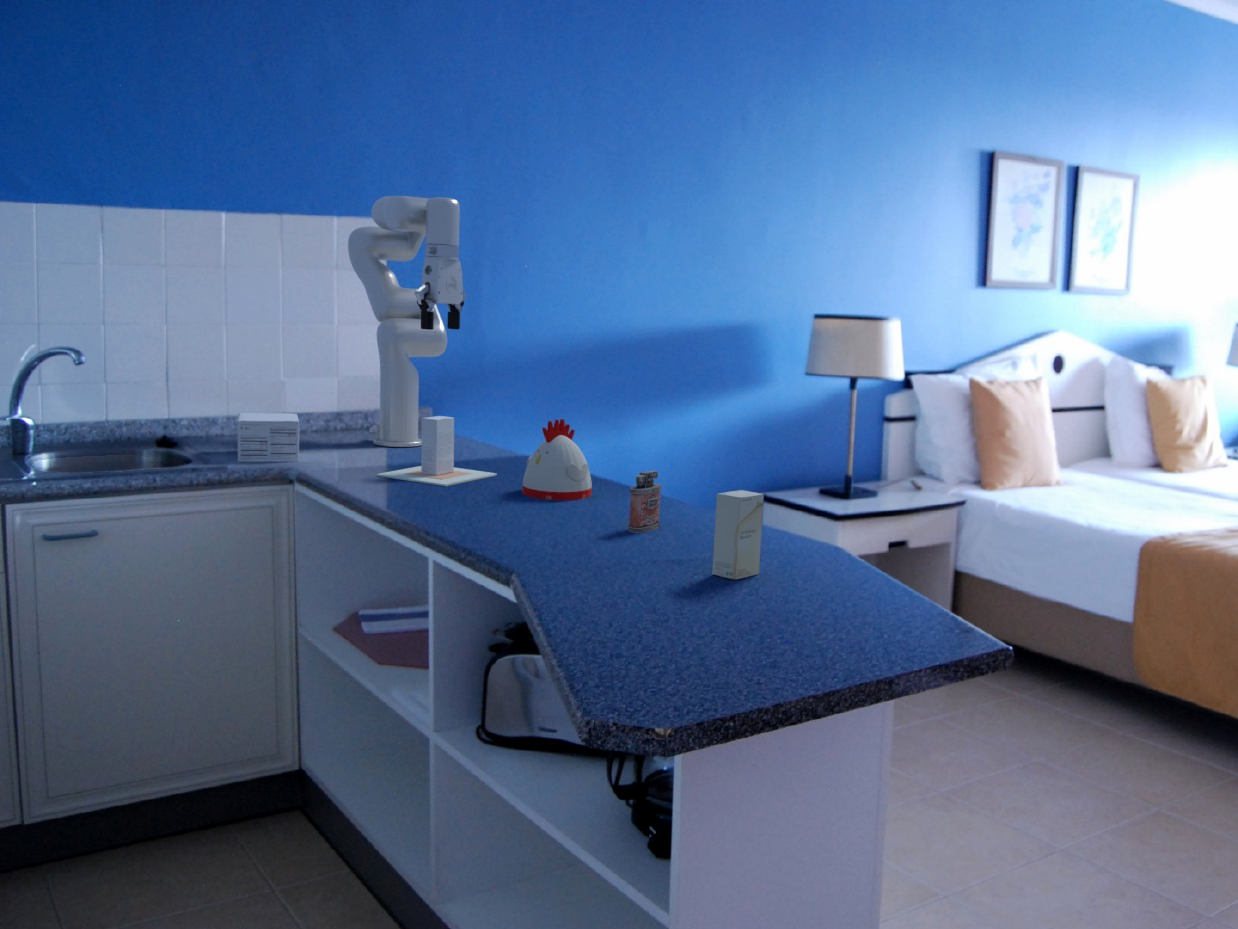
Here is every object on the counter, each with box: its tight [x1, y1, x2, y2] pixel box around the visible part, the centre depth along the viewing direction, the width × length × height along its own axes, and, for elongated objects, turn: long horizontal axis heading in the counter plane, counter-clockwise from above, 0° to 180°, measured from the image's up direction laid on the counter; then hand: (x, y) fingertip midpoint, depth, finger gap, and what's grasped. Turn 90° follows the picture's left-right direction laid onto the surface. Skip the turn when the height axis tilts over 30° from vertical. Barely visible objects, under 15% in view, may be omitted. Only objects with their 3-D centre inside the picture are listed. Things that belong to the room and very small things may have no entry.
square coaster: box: [376, 465, 498, 487], centre depth 229 cm, size 18×18×1 cm
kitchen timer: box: [521, 418, 593, 501], centre depth 214 cm, size 14×14×15 cm
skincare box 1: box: [420, 415, 455, 476], centre depth 228 cm, size 6×4×12 cm
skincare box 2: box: [711, 489, 765, 580], centre depth 156 cm, size 6×4×12 cm
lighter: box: [627, 470, 663, 534], centre depth 185 cm, size 8×3×10 cm, turn 148°
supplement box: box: [237, 412, 300, 463], centre depth 244 cm, size 17×13×9 cm
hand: (440, 329), depth 246 cm, fingers open, 9 cm apart
